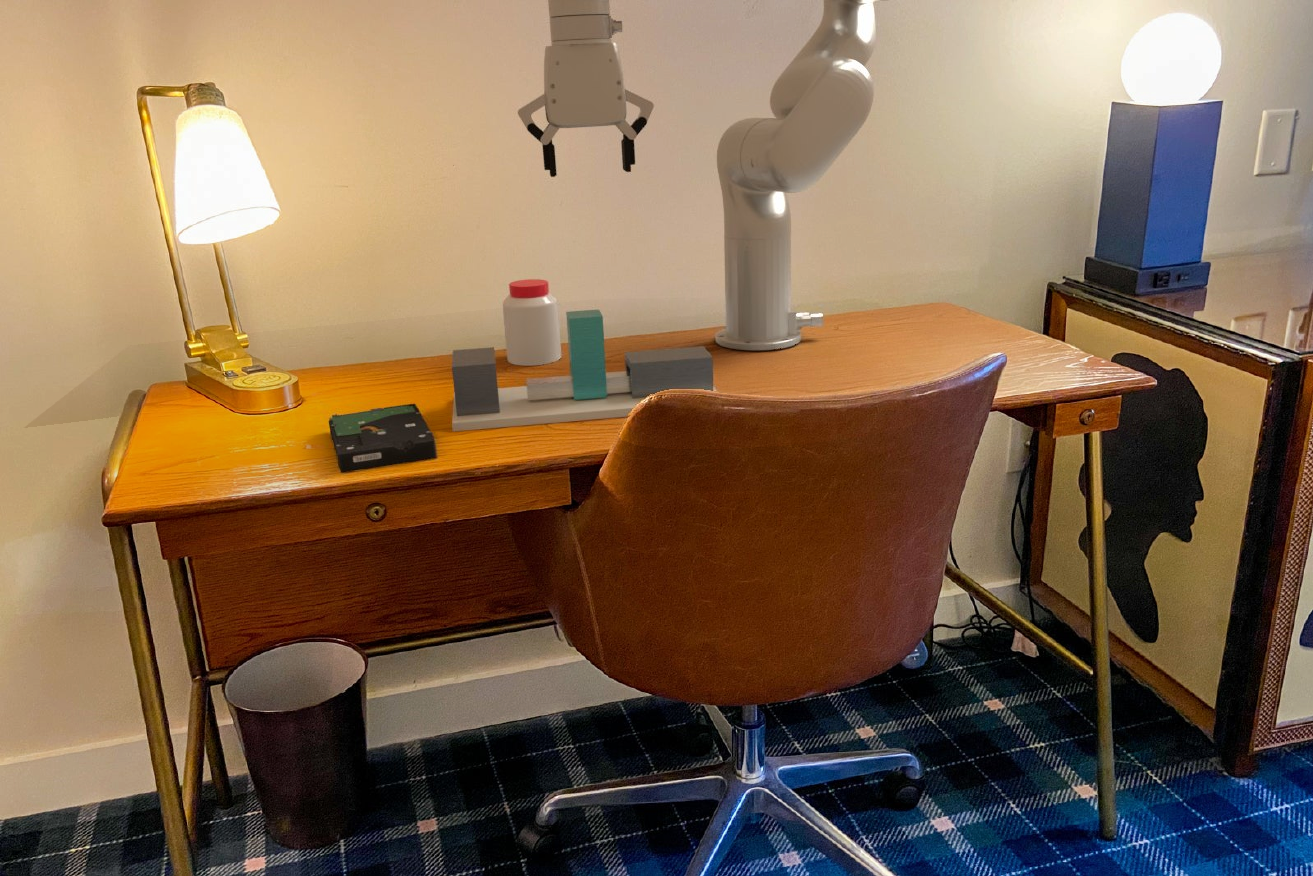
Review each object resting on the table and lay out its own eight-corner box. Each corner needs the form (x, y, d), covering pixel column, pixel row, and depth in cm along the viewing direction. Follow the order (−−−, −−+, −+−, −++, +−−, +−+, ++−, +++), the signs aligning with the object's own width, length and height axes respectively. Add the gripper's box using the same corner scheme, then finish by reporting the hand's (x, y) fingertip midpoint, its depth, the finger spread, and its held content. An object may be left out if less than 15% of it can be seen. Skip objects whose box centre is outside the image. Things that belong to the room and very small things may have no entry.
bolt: (693, 380, 134) (691, 302, 131) (700, 389, 131) (698, 309, 127) (527, 394, 132) (520, 314, 128) (528, 403, 128) (522, 322, 125)
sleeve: (704, 379, 136) (703, 346, 134) (713, 391, 130) (712, 357, 129) (626, 386, 134) (624, 352, 133) (632, 398, 129) (631, 363, 127)
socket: (498, 393, 133) (494, 347, 131) (499, 412, 126) (495, 363, 124) (457, 397, 132) (453, 350, 130) (456, 416, 125) (451, 366, 123)
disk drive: (440, 463, 115) (417, 423, 128) (437, 439, 114) (415, 401, 127) (341, 479, 111) (328, 436, 124) (337, 454, 110) (325, 413, 123)
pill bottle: (565, 351, 156) (560, 277, 152) (556, 365, 149) (550, 287, 145) (514, 352, 157) (507, 278, 153) (501, 366, 150) (494, 288, 146)
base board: (702, 379, 139) (702, 371, 139) (724, 408, 127) (724, 400, 127) (454, 399, 135) (454, 391, 135) (453, 431, 123) (452, 423, 122)
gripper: (645, 30, 137) (651, 166, 143) (510, 36, 135) (522, 175, 141) (653, 28, 130) (660, 171, 136) (511, 34, 128) (524, 180, 134)
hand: (590, 173), depth 138 cm, fingers open, 9 cm apart
